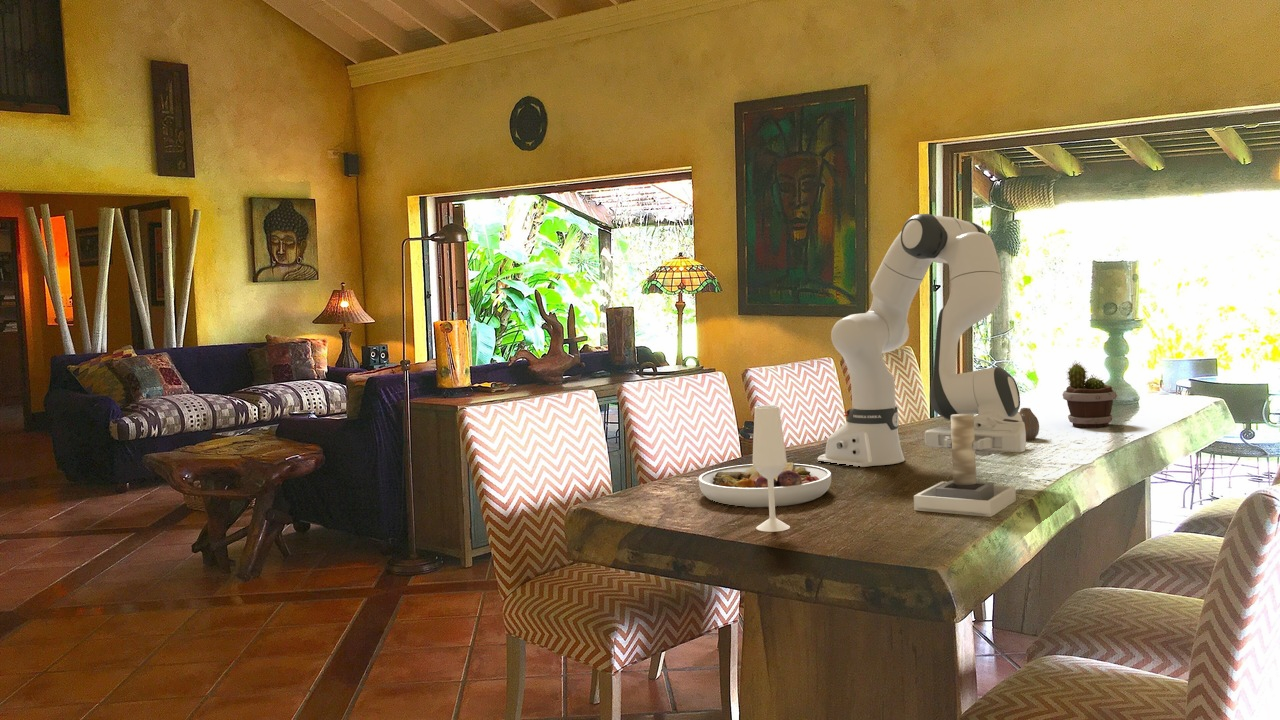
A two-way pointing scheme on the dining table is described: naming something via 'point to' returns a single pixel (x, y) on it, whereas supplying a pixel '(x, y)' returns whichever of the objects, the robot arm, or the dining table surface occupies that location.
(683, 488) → the dining table surface
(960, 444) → the peg
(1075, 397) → the flowerpot
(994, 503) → the tray
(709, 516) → the dining table surface
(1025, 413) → the vase
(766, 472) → the champagne flute
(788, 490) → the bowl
